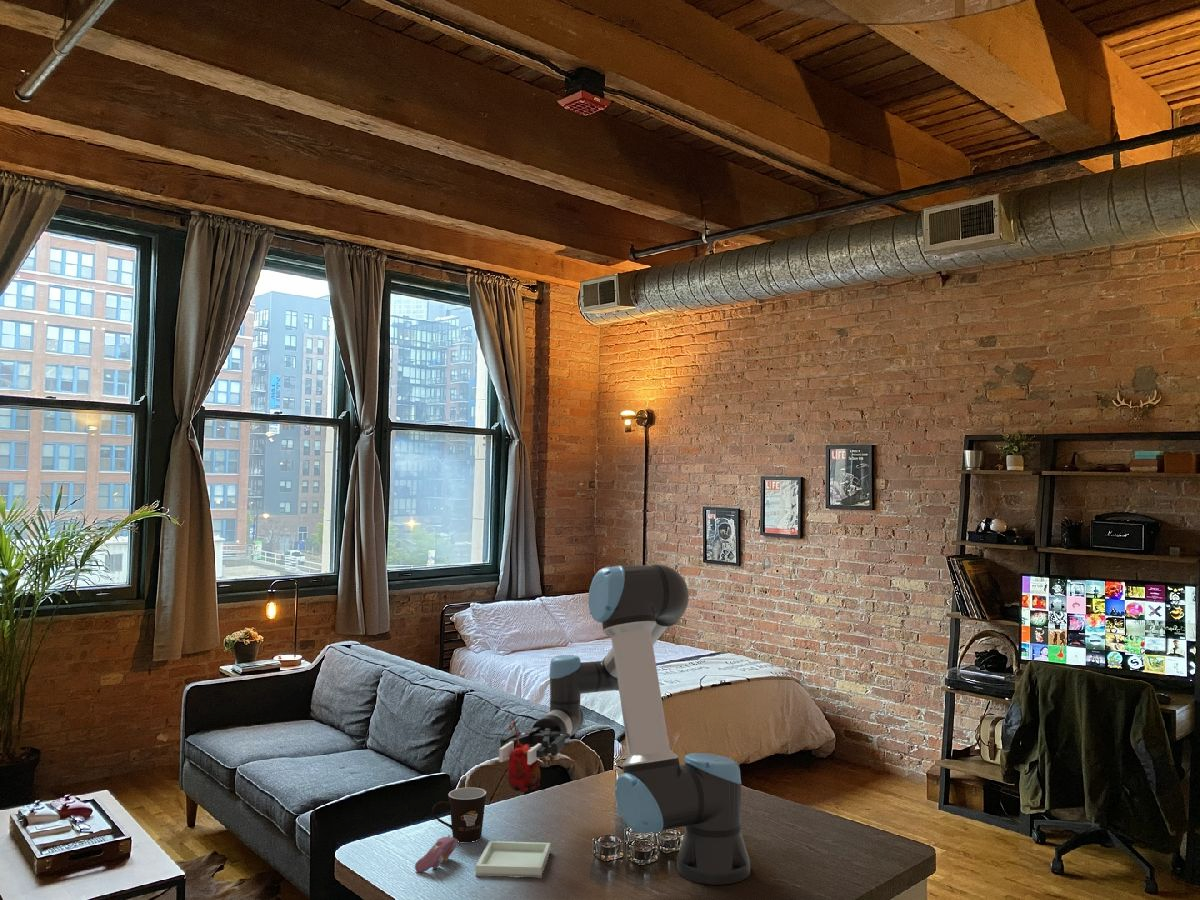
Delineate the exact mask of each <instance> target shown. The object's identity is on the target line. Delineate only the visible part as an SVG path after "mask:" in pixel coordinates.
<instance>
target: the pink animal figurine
mask: <svg viewBox="0 0 1200 900" xmlns="http://www.w3.org/2000/svg"><path fill="white" fill-rule="evenodd" d="M458 844H459V843H458V840H457V839H455V838H454V837H453V835H452V836H451V835H450V834H448V835H447V836H443V837H440V838H438V839H437V840H436V842H435V843H434V844H433V845H432V847H430V848H429V850H428V851H427V852H426V854H425V855H423V856H422V857H421V858H419V859H418V860H416V862H415V866H414V869H415V871H416V872H417V873H424V872H427V871H428V870H430V869H431V868H433V869H434V870H437V869H438V868H439V867H440V865H441V864H445V863H446V862H447V861H449V857H450V856H451V854H452V853H454V851H455V850H456V848H457V845H458ZM445 861H446V862H445ZM444 862H445V863H444ZM437 867H438V868H437ZM436 868H437V869H436Z"/></svg>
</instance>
